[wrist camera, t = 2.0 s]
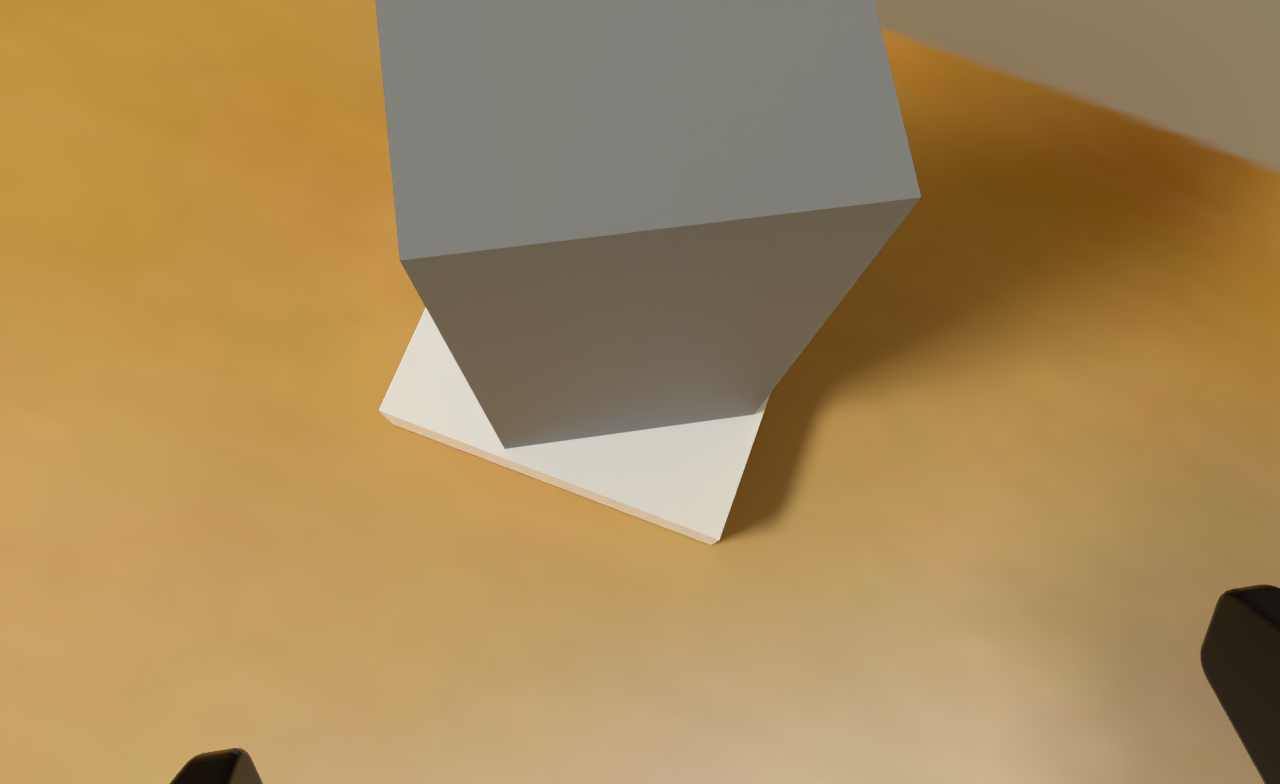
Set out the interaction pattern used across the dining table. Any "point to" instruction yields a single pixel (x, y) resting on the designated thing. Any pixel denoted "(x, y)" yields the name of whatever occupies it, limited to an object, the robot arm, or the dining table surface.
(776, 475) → the dining table surface
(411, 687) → the dining table surface
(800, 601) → the dining table surface
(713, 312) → the tall grey box
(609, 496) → the base
